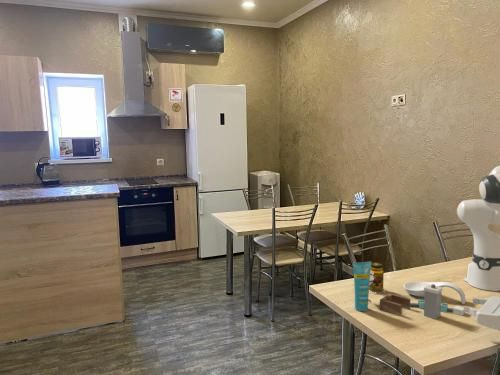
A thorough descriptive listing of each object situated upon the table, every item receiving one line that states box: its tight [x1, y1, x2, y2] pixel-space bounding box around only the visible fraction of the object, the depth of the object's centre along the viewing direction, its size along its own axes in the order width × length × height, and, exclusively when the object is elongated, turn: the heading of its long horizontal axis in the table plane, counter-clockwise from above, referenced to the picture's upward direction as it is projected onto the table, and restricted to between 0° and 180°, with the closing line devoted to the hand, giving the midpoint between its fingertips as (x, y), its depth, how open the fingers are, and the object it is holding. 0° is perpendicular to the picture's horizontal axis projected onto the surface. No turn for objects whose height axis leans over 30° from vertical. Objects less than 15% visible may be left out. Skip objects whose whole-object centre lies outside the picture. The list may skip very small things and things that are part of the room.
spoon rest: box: [403, 281, 467, 306], centre depth 159 cm, size 24×12×7 cm, turn 56°
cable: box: [410, 302, 466, 317], centre depth 147 cm, size 4×22×2 cm, turn 64°
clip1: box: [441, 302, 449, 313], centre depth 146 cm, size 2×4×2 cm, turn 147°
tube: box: [352, 260, 372, 312], centre depth 148 cm, size 7×5×19 cm, turn 103°
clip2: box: [417, 299, 424, 310], centre depth 150 cm, size 2×4×2 cm, turn 168°
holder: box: [379, 292, 411, 316], centre depth 148 cm, size 9×8×4 cm
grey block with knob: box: [423, 284, 443, 320], centre depth 141 cm, size 5×5×12 cm
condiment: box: [369, 262, 388, 295], centre depth 168 cm, size 7×8×12 cm
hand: (468, 304), depth 132 cm, fingers open, 8 cm apart
